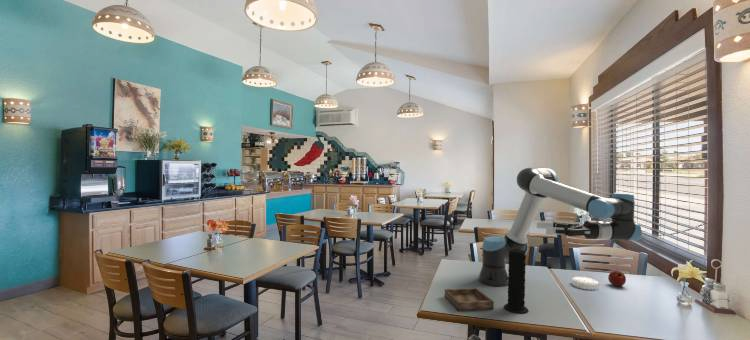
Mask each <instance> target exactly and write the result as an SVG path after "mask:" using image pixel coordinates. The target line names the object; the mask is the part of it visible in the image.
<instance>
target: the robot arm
mask: <svg viewBox="0 0 750 340" xmlns="http://www.w3.org/2000/svg"><path fill="white" fill-rule="evenodd" d="M516 184H517V186H518V187H519V188H520V189H521V190H522V191H524V192H525V193H524V196H523V198H522V201H521V204H520V205H519V208H518V210H517V212H516V215H515V218H514V220H513V223H512V225H511V228H510V230H507V231H506V233H505V235H504V236H500V235H499V236H498V235H495V236H493V235H492V236H488V237H485V238H484V239H483V241H482V267H481V269H480V271H479V274H478V281H479V282H480V283H481V284H484V285H487V286H490V287H491V286H492V287H505V286H508V283H509V282H508V276H509V275H508V273H507V270H506V263H507V261H509V260H508V259H509V249H514V248H518V249H522V250H525V251H526V253H525V256H527V254H528V252H529V243H528V241H529V240H528V238H527V236H528V234H529V232H530V229H531V227H532V225H533V222H534V220H535V218H536V215H537V213H538V211H539V209H540V206H541V203H542V202H543V200H544V199H546V198H550V199H552V200H555V201H557V202H560V203H563V204H566V205H569V206H571V207H573V208H577V209H579V210H582V211H585V212H588V213H589V214H590V215H591V216H592V217H593V218H594V219H600V221H599V220H585V221H584V222H583V225H582V224H579V223H570V222H559V221H551V222H550V221H548V222H547V221H536V229H545V235H558V236H561V235H562V236H563V235H564V236H568V237H582V236H584V238H585V239H588V240H599V241H600V240H602V241H603V240H605V241H609V240H610V241H623V242H629V241H632V242H635V241H638V240H639V241H640V239H641V237H642V234H643V231H642V227H641V225H640V224H639V223H638V222H635V204H636V203H635V195H634V194H633V193H629V192H613V193H612V194H611V197H610V198H606V197H602V196H599V195H596V194H594V193H590V192H587V191H584V190H581V189H579V188H575V187H572V186H569V185H565V184H564V183H560V182H559V178H558V175H557V173H556V172H555V171H554V170H553V169H551V168H549V167H548V168H547V167H526V168H523V169H522V170H520V171H519V172H518V174H517V176H516ZM610 218H611V221H610V220H609V221H606V220H605V219H610ZM601 220H602V221H601Z"/></svg>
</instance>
